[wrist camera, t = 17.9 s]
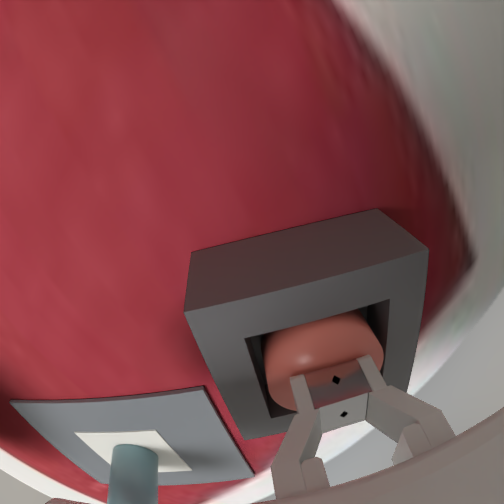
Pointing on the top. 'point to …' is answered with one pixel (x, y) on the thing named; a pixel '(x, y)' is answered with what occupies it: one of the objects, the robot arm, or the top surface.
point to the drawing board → (142, 434)
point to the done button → (315, 350)
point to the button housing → (303, 302)
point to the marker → (133, 476)
